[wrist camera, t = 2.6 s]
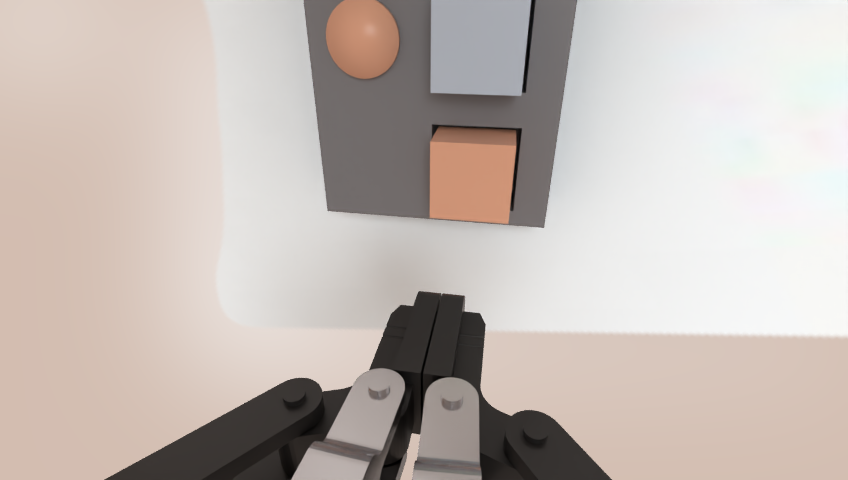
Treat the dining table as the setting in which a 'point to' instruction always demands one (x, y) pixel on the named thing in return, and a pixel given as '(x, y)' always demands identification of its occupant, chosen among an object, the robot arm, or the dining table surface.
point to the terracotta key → (472, 173)
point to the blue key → (478, 46)
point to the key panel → (423, 105)
